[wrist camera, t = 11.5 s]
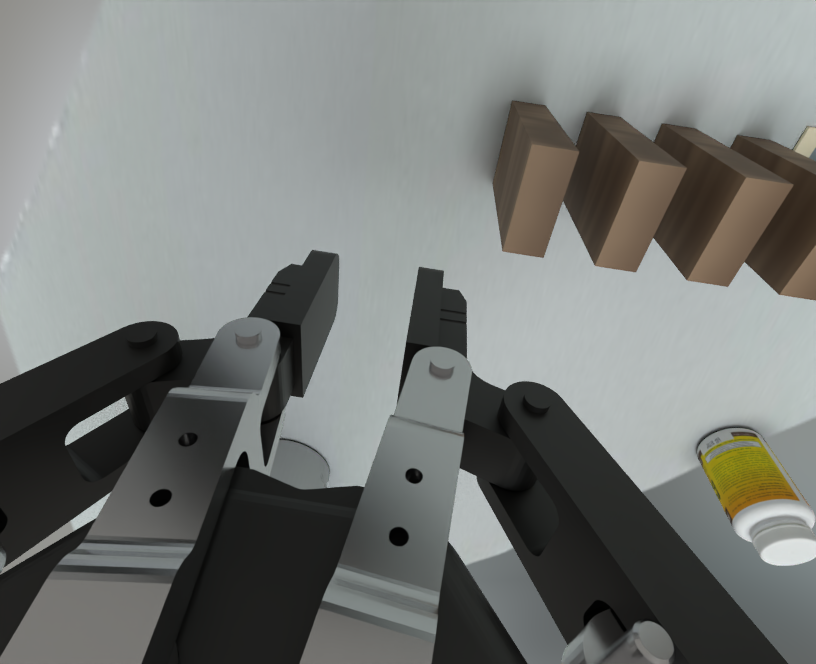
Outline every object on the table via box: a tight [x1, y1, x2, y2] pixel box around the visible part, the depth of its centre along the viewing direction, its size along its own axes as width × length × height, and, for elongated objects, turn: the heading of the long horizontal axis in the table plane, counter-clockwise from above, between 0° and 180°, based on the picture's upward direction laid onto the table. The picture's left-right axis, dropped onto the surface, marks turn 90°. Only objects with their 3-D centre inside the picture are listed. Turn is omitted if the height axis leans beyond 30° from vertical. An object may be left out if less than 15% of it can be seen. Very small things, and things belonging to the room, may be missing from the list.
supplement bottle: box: [697, 428, 816, 566], centre depth 38 cm, size 6×6×10 cm
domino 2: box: [563, 112, 687, 272], centre depth 24 cm, size 2×5×10 cm, turn 173°
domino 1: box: [493, 101, 579, 258], centre depth 24 cm, size 2×5×10 cm, turn 173°
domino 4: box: [730, 135, 816, 300], centre depth 24 cm, size 2×5×10 cm, turn 173°
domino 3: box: [653, 124, 794, 287], centre depth 24 cm, size 2×5×10 cm, turn 173°
